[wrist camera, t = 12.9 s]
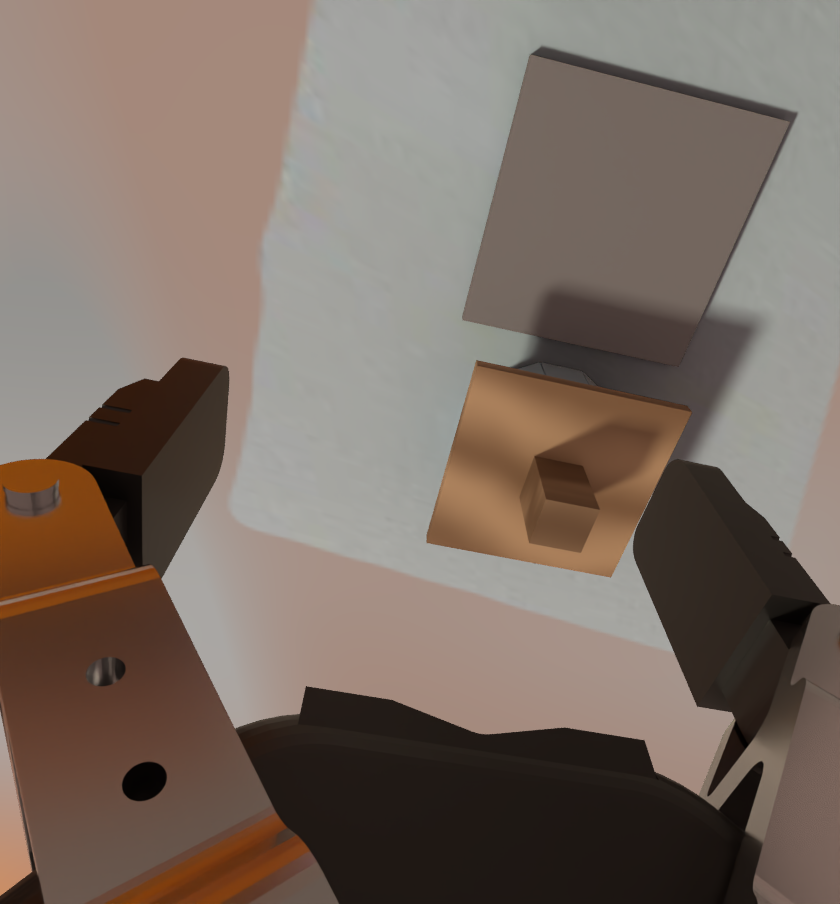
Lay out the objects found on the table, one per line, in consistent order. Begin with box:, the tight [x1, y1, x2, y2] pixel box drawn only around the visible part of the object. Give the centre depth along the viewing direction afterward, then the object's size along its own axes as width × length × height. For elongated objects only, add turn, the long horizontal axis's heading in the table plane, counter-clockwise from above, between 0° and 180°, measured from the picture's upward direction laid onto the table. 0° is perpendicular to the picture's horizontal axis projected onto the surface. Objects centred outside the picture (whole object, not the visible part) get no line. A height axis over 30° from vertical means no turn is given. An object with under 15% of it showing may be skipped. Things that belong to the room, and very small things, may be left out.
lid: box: [427, 360, 692, 577], centre depth 36 cm, size 12×12×5 cm
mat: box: [462, 55, 790, 367], centre depth 36 cm, size 14×14×1 cm
